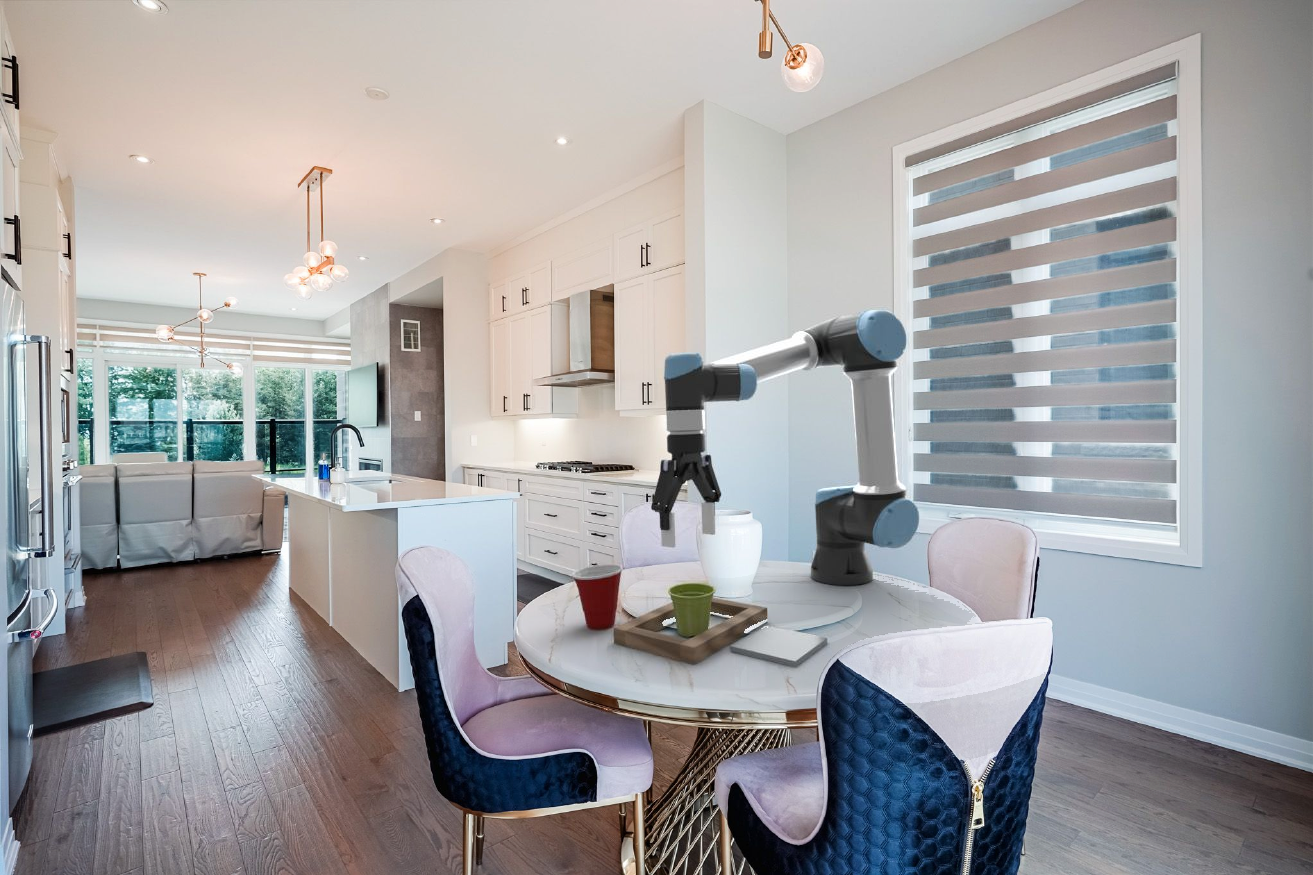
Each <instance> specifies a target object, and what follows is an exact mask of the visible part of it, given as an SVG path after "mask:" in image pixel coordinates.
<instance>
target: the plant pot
mask: <svg viewBox="0 0 1313 875" xmlns="http://www.w3.org/2000/svg"><path fill="white" fill-rule="evenodd" d="M667 592H668V593H667V594H668V595H669V596H670V599H671V603H672V602H673V607H674V613H675V619H676V622H675V624H676V630H677V634H678V635H680V636H683V637H686V638H690V637H695V636H697V635H699V634H700V633H702V632H704V631H706V630H708V627H709V625H710V618H711V617H710V616H711V615H710V609H711V600H712V599H713V598H714V594H715V593H716V588H715V586H713V585H710V584H708V583H700V582H685V583H679V584H675V585H673V586H670V587H669V588H668V589H667ZM709 628H710V627H709Z"/></svg>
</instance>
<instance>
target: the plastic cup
mask: <svg viewBox="0 0 1313 875" xmlns="http://www.w3.org/2000/svg"><path fill="white" fill-rule="evenodd" d="M623 568H624V566H623V565H621V564H616V563H604V564H595V565H590V566H585V567H582V568H579V569H577V570H574V571H572V573H571V574H570V575H571V577H572V578H573V580H574V582H575V584H576V587H577V590H578V596H579V598H580V599H579V600H580V603H581V607H582V612H583V614H584V620H585V624H586V627H587V628H588V629H590V630H596V631H600V630H601V631H603V630H608V629H610V628H612V627H614V626H615V624H616V617H617V610H618V600H619V590H620V583H621V574H622V572H623Z"/></svg>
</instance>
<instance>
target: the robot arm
mask: <svg viewBox="0 0 1313 875" xmlns="http://www.w3.org/2000/svg"><path fill="white" fill-rule="evenodd" d="M907 339H908V337H907V333H906V329H905V326H904V325H903V322H902V321H901V320H900V319H899V318H898V317H897V316H896V315H895V314H894V313H893V312H891V311H889V310H885V309H873V310H872V309H871V310H870V309H869V310H865V311H862V312H858V313H857V312H856V313H853V314H848V315H844V316H842V315H841V316H837V317H834V318H830V319H828V320H826V321H823V322H821V323H818V324H816V325H813V326H811V327H809V328H806V329H803V330H800V331H797V332H795V333H794V334H793V335H792V337H791V338H788V339H785V340H782V341H778V342H774V343H772V344H769V345H765V346H762V347H759V348H756V349H751V350H748V351H745V352H742V353H738V354H735V355H732V356H729V357H726V358H722V359H719V360H716V361H713V362H710V363H704V358H703V355H702V354H701V353H698V352H680V353H678V352H677V353H672V354H669V355H667V356H666V357H665V359H664V370H663V371H664V373H663V375H664V376H663V380H664V389H665V396H664V397H665V412H666V413H665V414H666V416H665V417H666V431H667V432H669V434H667V436H666V449H667V452H668V454H671V459H661V461H660V467H659V468H660V472H659V475H658V479H657V481H656V482H657V484H656V487H655V491H654V493H653V499H652V503H651V505H650V506H651V508H650V509H651V510H652V511H654V512H655V513H658V514H659V529H660V531H661V532H660V533H661V547H666V548H673V549H674V548H676V529H675V528H676V524H675V522H676V521H675V512H673V508H674V505H675V503H676V502H677V501H676V500H677V498H678V496H679V494H680V491H681V489H682V486H683V485H685V484H686V482H688V481H692V482H693V484H694V485H695V487H696V489H697V491H698V493H699V494H700V495H701V497H702V499H703V501H702V502H701V504H700V505H701V507H700V508H701V529H702V530H701V532H702V534H703V535H710V536H711V535H712V536H713V535H716V503H720V501H721V496H722V491H721V489H720V486H719V483H718V479H717V477H716V476H717V475H716V474H715V470H714V467H713V460H712V456H711V454H702V453H704V452H705V451H706V435H705V433H703V431H705V430H706V419H705V417H706V416H705V403H708V402H709V403H712V402H741V401H747V400H751V398H753V396H754V395H755V394H756V392H757V388H758V383H761V382H764V381H766V380H770V379H773V378H776V377H778V376H779V377H780V376H782V375H785V374H789V373H791V372H795V371H797V370H803V371H811V370H814V369H818V368H826V367H842V370H843V375H844V376H846V377H847V378H848V379H849V380H850V382H851V385H850V386H851V393H852V394H851V395H852V408H853V409H852V410H853V422H854V432H855V448H856V457H857V458H856V462H857V473H858V483H857V484H856V485H848V486H847V485H845V486H835V487H825V488H821V489H818V491H817V492H816V494H815V503H814V509H815V510H814V511H815V527H816V528H815V531H816V550H815V552H814V556H813V559H812V562H811V566H810V578H811V579H812V580H814V581H816V582H819V583H822V584H823V583H824V584H827V585H828V584H829V585H837V586H854V585H862V584H867V583H869V582H871V581H873V579H874V576H873V575H874V572H873V567H872V564H871V561H870V559H869V556H868V553H867V551H866V546H865V544H869V545H873V546H876V547H879V548H882V549H883V548H888V549H899V548H902V547H904V546H906V545H907V544H908V543H909V542H911V541H912V539H913V537H914V536H915V535H916V533H917V530H918V527H919V524H920V523H919V522H920V511H919V508H918V506H917V505H916V504H915V502H913V500H911V499H910V498H908V497H907V489H906V486H905V485H904V484H903V483H901V482H900V481H899V476H898V464H897V462H898V461H897V451H896V448H897V447H896V436H895V422H894V411H893V410H894V409H893V394H892V383H891V376H892V375H893V374H894V372H895V371H897V369H898V365H897V360H899V359H900V358H901V357H902V356H903V354H904V351H905V350H906V348H907V341H908V340H907Z"/></svg>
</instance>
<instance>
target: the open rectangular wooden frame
mask: <svg viewBox="0 0 1313 875" xmlns="http://www.w3.org/2000/svg"><path fill="white" fill-rule="evenodd" d="M710 612H714V613H719V614H722V615H729V616H733V617H731V618H729V619H728V618H726V619H725V620H723V621H722V622H720V623H718V624H716V625H714V626H712V627H709V629H708V630H706V631H704V632H702V633H700V634H699V635H697V636H692V637H691V638H689V639H685V638H681V637H677V636H673V635H669V634H665V633H660V632H658V631H660V630H663V629H664V628H666V627H665V626H663V624H662V622H663V621H664V620H666V619H670V618H673V617H675V613H674V607H673V602H672V601H671V602H669V603H667V604H666V605H663V606H660V607H658V608H656V609H654V610H653V609H652V611H649V612H646V613H643V614H641V615H640V616H637V617H635V618H632V619H630V620H628V621H626V622H624V623H621V624H619V625H617V626H615V627H614V626H613V629H612V630H613V631H612V632H613V644H616V645H619V646H624V647H627V648H631V649H635V650H638V651H642V652H646V653H650V654H653V655H655V656H656V655H657V656H662V657H663V658H664V657H665V658H667V659H668V658H669V659H671V660H676V661H679V662H683V663H686V664H690V665H696V664H698V663H700V662H701V661H703V660H705V659H707V658H708V657H710V656H711V655H714V654H715V653H717V652H719V651H720V650H722V649H724V648H726V647H727V646H728V645H729V646H730V645H732V644H733V642H734V643H735V642H737V640H740V639H742V637H743V638H744V637H745V636H747V634H746V633H744V631H745V629H747V628H749V627H750V626H752V625H754V624H757V623H758V622H761V621H763V620H766V619H768V607H766V606H761V605H755V604H750V603H744V602H739V601H734V600H727V599H723V598H717V597H713V599H712V600H711V609H710Z"/></svg>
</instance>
